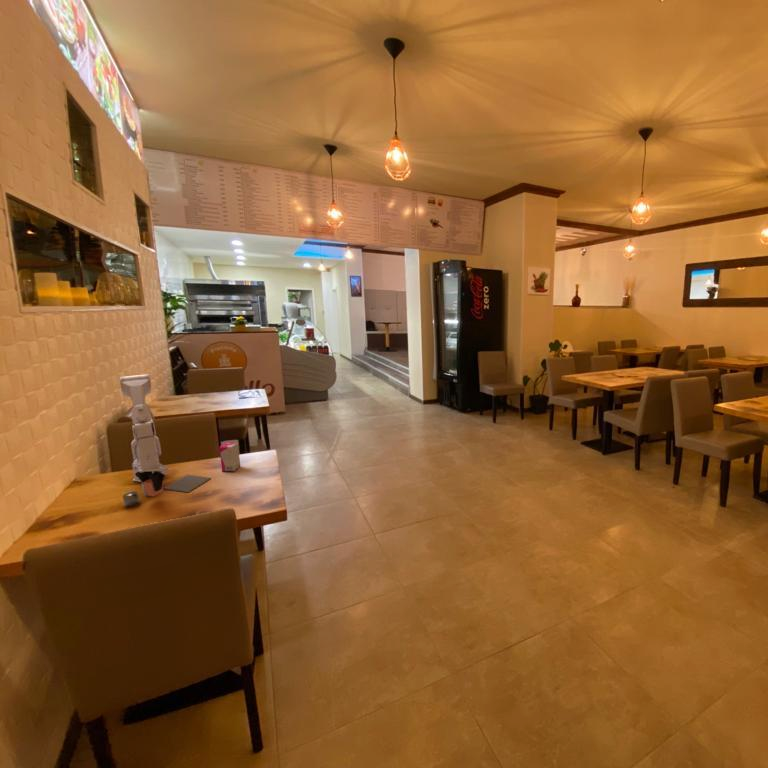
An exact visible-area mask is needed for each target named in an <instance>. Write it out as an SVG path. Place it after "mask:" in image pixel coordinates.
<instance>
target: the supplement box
mask: <svg viewBox="0 0 768 768" xmlns="http://www.w3.org/2000/svg"><path fill="white" fill-rule="evenodd" d="M219 455H220V456H219V457H220V463H221V464H220V465H221V466H220V467H221V472H222V473H235V472H236V471H237V470H238V469H239V468H241V460H240V459H241V458H240V449H239V442H225V443H224V444H222V445H220V446H219Z"/></svg>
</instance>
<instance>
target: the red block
mask: <svg viewBox="0 0 768 768" xmlns="http://www.w3.org/2000/svg"><path fill="white" fill-rule="evenodd" d="M143 485H144V491H145V495H149V496H148V497H155V496H156V495H159V494H161V493H162V492H164V489H163V488H164V487H163V485H162V489H161V490H159V491H155V489H154V485H153V482H152V480H151V479H148V480H146V481H144V482H143Z"/></svg>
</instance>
